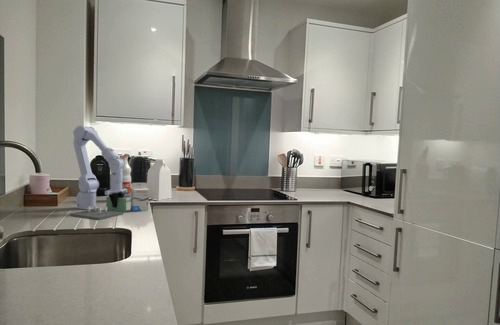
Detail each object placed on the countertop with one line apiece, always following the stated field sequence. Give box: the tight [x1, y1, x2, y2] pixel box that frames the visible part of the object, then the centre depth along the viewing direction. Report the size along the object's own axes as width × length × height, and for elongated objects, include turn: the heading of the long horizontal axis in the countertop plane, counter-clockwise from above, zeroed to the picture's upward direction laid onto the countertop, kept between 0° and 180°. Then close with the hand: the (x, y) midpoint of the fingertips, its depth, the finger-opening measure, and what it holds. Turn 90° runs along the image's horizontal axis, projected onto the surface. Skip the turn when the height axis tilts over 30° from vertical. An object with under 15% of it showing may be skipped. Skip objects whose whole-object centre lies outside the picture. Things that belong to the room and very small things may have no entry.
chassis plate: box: [69, 205, 124, 221], centre depth 181 cm, size 18×16×4 cm
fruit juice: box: [119, 155, 132, 202], centre depth 227 cm, size 9×9×28 cm
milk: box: [146, 158, 173, 200], centre depth 240 cm, size 12×12×26 cm
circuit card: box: [105, 196, 127, 213], centre depth 194 cm, size 12×2×7 cm, turn 68°
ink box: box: [130, 182, 150, 212], centre depth 198 cm, size 8×5×15 cm, turn 124°
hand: (116, 207), depth 194 cm, fingers closed on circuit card, 1 cm apart
